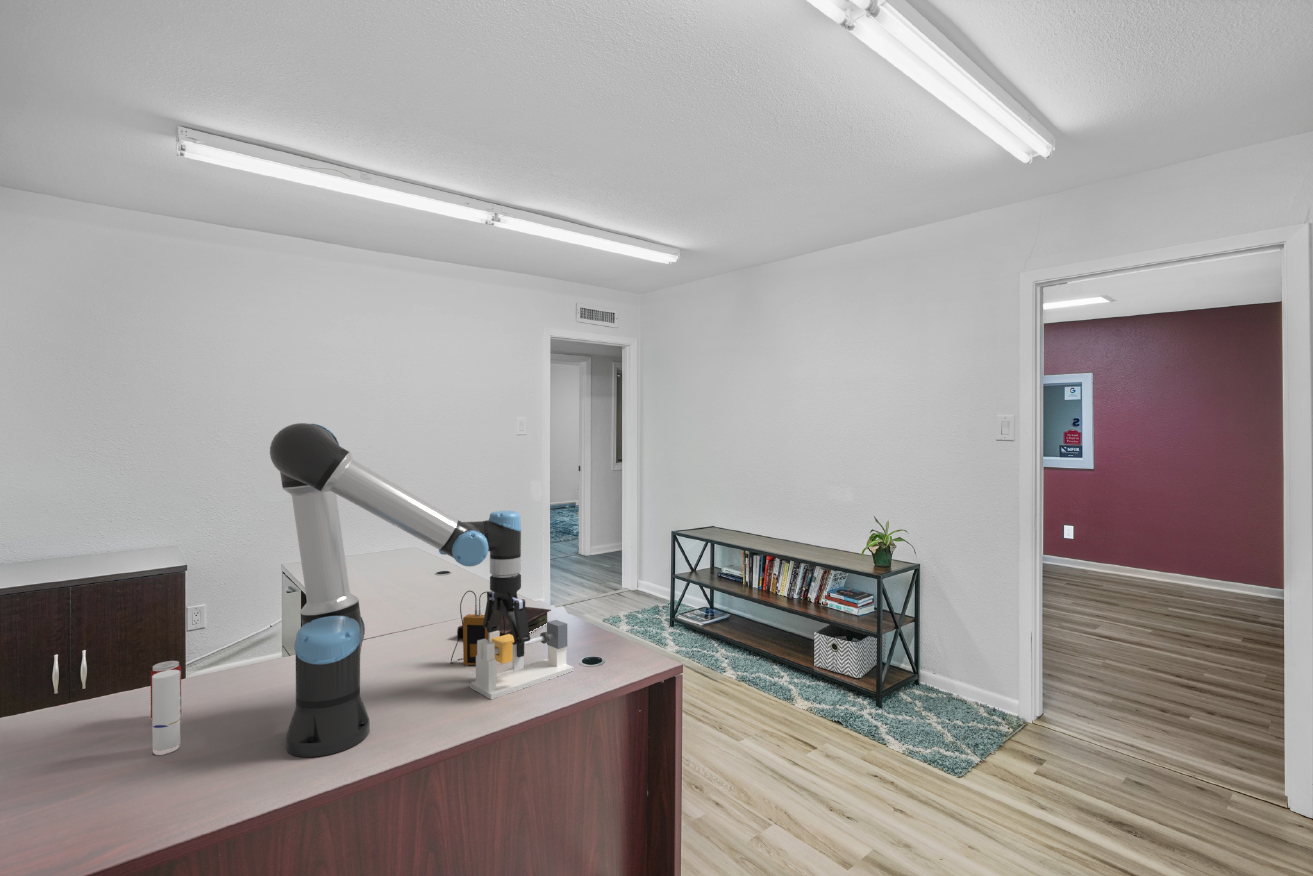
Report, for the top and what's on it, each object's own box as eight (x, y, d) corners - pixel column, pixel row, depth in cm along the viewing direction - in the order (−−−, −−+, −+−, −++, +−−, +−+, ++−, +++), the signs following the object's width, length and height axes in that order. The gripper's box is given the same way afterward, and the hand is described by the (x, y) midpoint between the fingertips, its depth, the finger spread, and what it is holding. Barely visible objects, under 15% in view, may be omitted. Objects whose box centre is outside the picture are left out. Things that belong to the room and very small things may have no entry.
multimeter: (514, 653, 175) (514, 583, 175) (502, 667, 165) (502, 592, 165) (464, 652, 177) (464, 582, 177) (449, 665, 167) (449, 591, 167)
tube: (177, 742, 125) (176, 668, 125) (183, 749, 122) (182, 673, 122) (150, 750, 122) (149, 674, 122) (155, 757, 119) (155, 680, 119)
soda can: (145, 725, 132) (145, 669, 132) (158, 715, 137) (158, 661, 137) (174, 722, 134) (174, 667, 134) (185, 712, 139) (185, 658, 139)
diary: (456, 642, 188) (456, 625, 188) (506, 619, 211) (506, 604, 211) (507, 649, 181) (507, 631, 181) (553, 624, 204) (553, 609, 204)
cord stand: (491, 699, 145) (491, 648, 145) (470, 687, 152) (469, 638, 152) (573, 671, 162) (573, 625, 162) (550, 661, 169) (550, 617, 169)
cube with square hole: (502, 664, 150) (502, 643, 150) (491, 658, 153) (491, 638, 153) (520, 658, 153) (520, 638, 153) (509, 653, 157) (509, 633, 157)
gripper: (545, 579, 148) (545, 671, 148) (494, 564, 164) (495, 648, 164) (518, 584, 143) (518, 680, 143) (468, 569, 159) (469, 655, 159)
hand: (505, 663), depth 153 cm, fingers open, 10 cm apart
